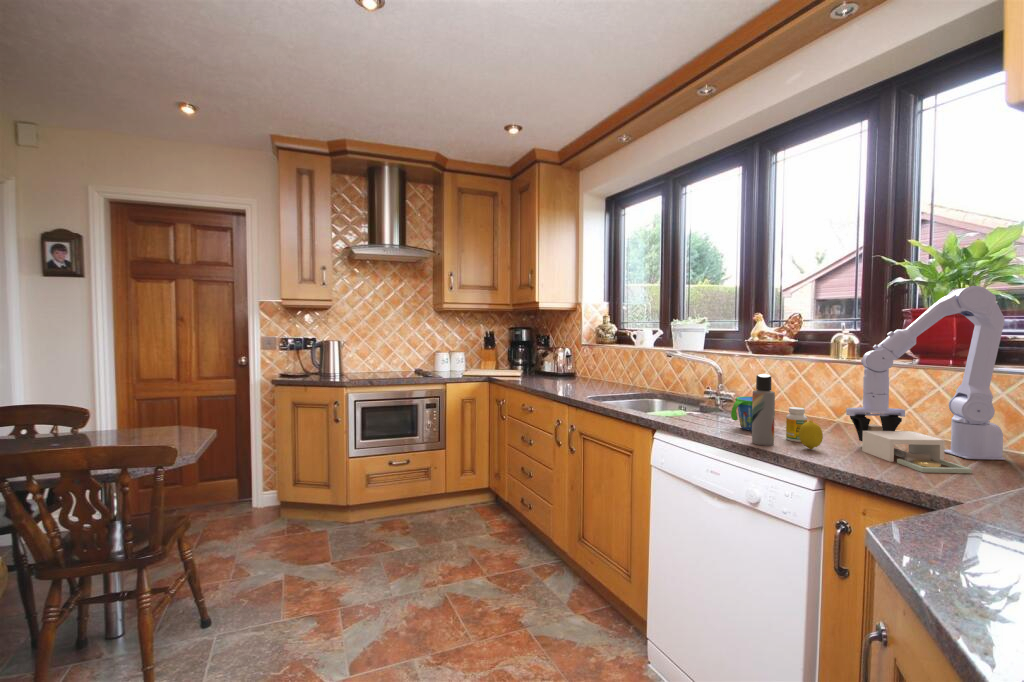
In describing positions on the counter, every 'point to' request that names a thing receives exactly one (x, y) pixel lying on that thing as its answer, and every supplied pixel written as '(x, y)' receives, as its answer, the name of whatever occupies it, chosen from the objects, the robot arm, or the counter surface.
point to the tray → (954, 467)
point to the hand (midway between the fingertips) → (874, 441)
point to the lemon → (810, 434)
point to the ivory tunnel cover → (885, 440)
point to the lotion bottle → (763, 411)
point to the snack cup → (743, 412)
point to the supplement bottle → (794, 423)
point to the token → (926, 463)
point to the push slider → (901, 453)
